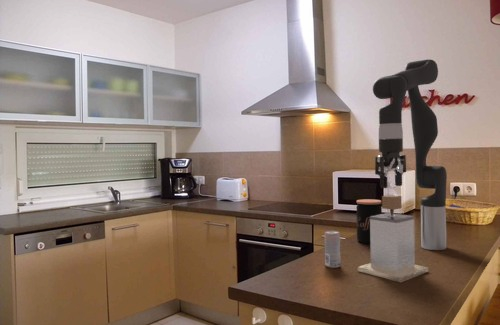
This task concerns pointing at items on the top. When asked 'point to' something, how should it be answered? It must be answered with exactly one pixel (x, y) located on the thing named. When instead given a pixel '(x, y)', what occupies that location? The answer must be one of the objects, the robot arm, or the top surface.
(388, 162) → the robot arm
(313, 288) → the top surface
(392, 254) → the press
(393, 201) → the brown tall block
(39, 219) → the top surface
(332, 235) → the energy drink
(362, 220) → the coffee jar
